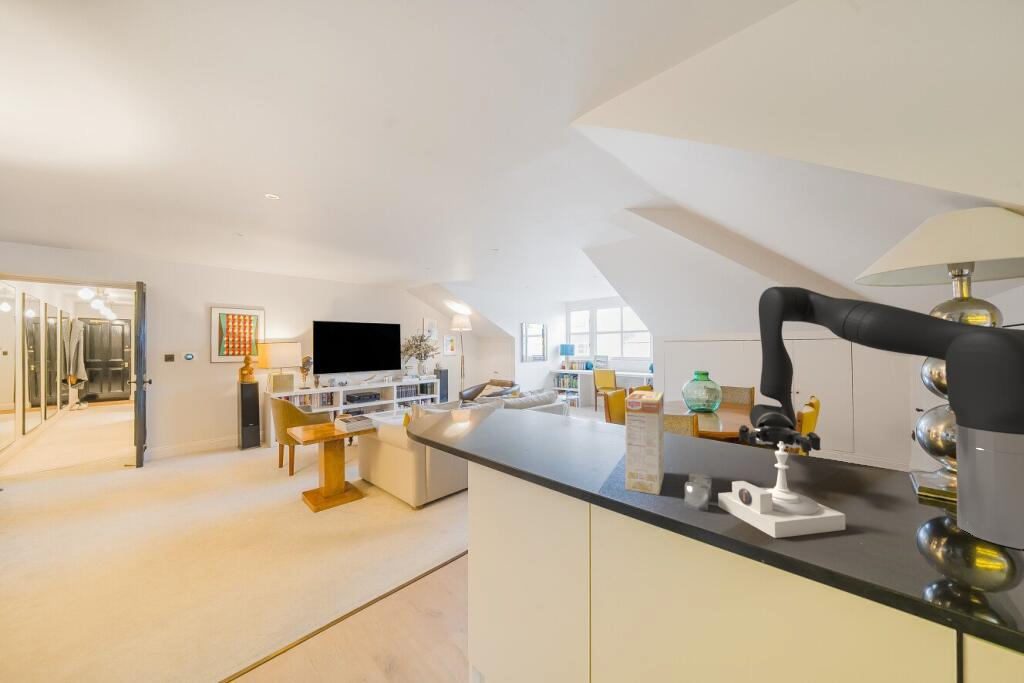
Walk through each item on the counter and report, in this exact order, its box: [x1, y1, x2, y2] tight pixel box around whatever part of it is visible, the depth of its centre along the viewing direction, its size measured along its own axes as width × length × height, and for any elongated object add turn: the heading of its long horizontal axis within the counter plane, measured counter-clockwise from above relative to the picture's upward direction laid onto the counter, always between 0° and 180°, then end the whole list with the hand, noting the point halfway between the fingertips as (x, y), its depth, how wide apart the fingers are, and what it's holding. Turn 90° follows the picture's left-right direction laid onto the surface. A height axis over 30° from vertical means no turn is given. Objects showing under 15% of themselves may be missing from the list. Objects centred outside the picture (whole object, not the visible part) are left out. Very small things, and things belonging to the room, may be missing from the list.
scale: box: [717, 480, 846, 539], centre depth 67 cm, size 14×12×6 cm
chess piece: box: [766, 441, 799, 503], centre depth 67 cm, size 5×5×10 cm
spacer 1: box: [688, 472, 712, 501], centre depth 76 cm, size 4×4×4 cm
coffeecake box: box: [624, 390, 665, 496], centre depth 85 cm, size 15×7×20 cm, turn 154°
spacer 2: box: [684, 481, 709, 512], centre depth 71 cm, size 4×4×4 cm
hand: (779, 444), depth 76 cm, fingers open, 8 cm apart
